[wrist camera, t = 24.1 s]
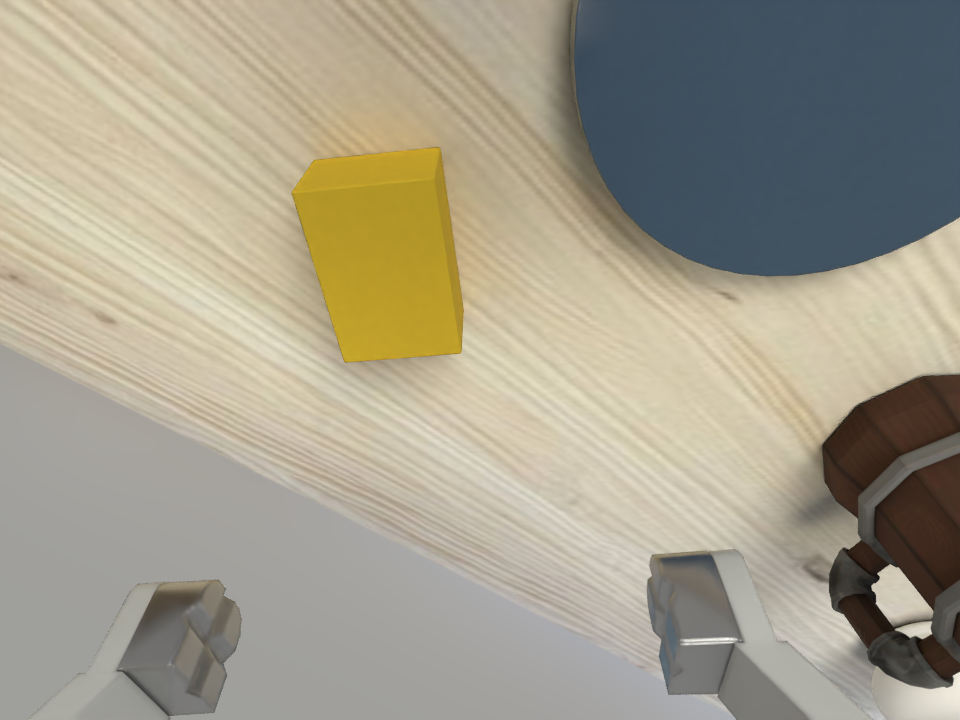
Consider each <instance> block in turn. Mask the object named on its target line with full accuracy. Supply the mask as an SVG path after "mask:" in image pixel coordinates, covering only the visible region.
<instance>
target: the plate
mask: <svg viewBox="0 0 960 720" xmlns="http://www.w3.org/2000/svg"><path fill="white" fill-rule="evenodd" d="M570 63H571V77H572V89H573V94H574V99H575V104H576V109H577V114H578V120H579V123H580V126H581V129H582V132H583V135H584V138H585V141H586V144H587V147H588V149H589V152H590V154H591V157H592V159H593V161H594V163H595V165H596V167H597V169H598V171H599V173H600V175H601V177H602V179H603V181H604V183H605V185H606V187H607V188H608V190H609V191H610V192H611V194H612V195H613V197H614V198H615V199H616V201H617V202H618V204H619V205H620V206H621V208H622V209H623V211H624V212H625V213H626V214H627V215H628V216H629V217H630V218H631V219H632V220H633V221H634V222H635V223H636V224H637V225H638V226H639V227H640V228H641V229H642V230H643V231H644V232H646V233H647V234H648V235H650V236H651V237H652V238H654V239H655V240H656V241H658V242H659V243H660V244H662V245H663V246H664V247H666V248H668V249H670V250H672V251H674V252H675V253H677V254H679V255H681V256H683V257H685V258H687V259H689V260H692V261H695V262H697V263H700V264H703V265H706V266H708V267H711V268H715V269H719V270H724V271H728V272H733V273H738V274H746V275H758V276H794V275H803V274H810V273H818V272H825V271H830V270H834V269H838V268H842V267H846V266H850V265H854V264H858V263H861V262H864V261H867V260H870V259H873V258H876V257H879V256H882V255H884V254H887V253H890V252H892V251H895V250H897V249H899V248H901V247H904V246H906V245H908V244H910V243H913V242H915V241H917V240H919V239H922V238H924V237H925V236H927V235H929V234H931V233H933V232H934V231H936V230H938V229H940V228H942V227H944V226H945V225H947V224H949V223H951V222H953V221H954V220H956V219H958V218H959V217H960V0H573V6H572V15H571V35H570Z"/></svg>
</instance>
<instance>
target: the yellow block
mask: <svg viewBox="0 0 960 720" xmlns="http://www.w3.org/2000/svg"><path fill="white" fill-rule="evenodd" d="M292 196H293V199H294V202H295V206H296V209H297V212H298V215H299V218H300V222H301V225H302V228H303V231H304V234H305V238H306V241H307V244H308V247H309V250H310V254H311V257H312V260H313V263H314V266H315V270H316V273H317V276H318V279H319V282H320V286H321V289H322V292H323V295H324V298H325V302H326V305H327V308H328V311H329V315H330V318H331V321H332V324H333V327H334V331H335V334H336V337H337V340H338V343H339V347H340V350H341V353H342V356H343V359H344V362H346V363H347V362H359V361H372V360H385V359H397V358H410V357H422V356H435V355H447V354H460V353H461V351H462V332H463V313H464V309H463V302H462V295H461V288H460V281H459V274H458V267H457V260H456V253H455V246H454V239H453V233H452V226H451V219H450V212H449V205H448V198H447V191H446V184H445V177H444V170H443V163H442V156H441V149H440V148H439V147H435V148H426V149H416V150H407V151H397V152H387V153H378V154H368V155H359V156H349V157H339V158H330V159H320V160H314V161H313V162H312V164H311V165H310V167H309V168H308V169H307V171H306V172H305V174H304V175H303V177H302V178H301V179H300V181H299V182H298V184H297V185H296V187H295V188H294V190H293V191H292Z"/></svg>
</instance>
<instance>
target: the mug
mask: <svg viewBox="0 0 960 720" xmlns="http://www.w3.org/2000/svg"><path fill="white" fill-rule="evenodd" d="M823 458H824V477H825V483H826V485H827V486H828V488H829V490H830V491H831V493H832V495H833V497H834V498H835V500H836V501H837V502H838V503H839V504H840V505H842V506H843V507H844V508H845V509H847V510H848V511H849V512H851V513H852V514H853V515H854V516H856V517H857V518H858V535H859V536H860V538H861V539H862V540H861V541H860V542H859V543H857V544H856V545H855V546H853V547H852V548H851V549H849V550H848V549H846V548H842V549H841V550H840V551H839V554H838V555H837V557H836V559H835V561H834V563H833V566H832V569H831V571H830V574H829V593H830V597H831V602H832V608H833V610H835V611H837V612H839V613H842V614H844V615H845V617H846V618H847V620H848V621H849V623H850V624H851V626H852V627H853V628H854V630H855V631H856V633H857V634H858V636H859V637H860V639H861V640H862V641H863V643H864V644H865V646H866V647H867V649H868V650H867V654H868V659H869V661H870V662H871V663H872V664H873V665H875V666H878V667H879V668H880V669H881V670H882V671H883V672H884V673H885V674H886V675H888V676H890V677H893V678H895V679H897V680H899V681H901V682H903V683H905V684H908V685H910V686H915V687H921V688H926V689H935V688H940V687H946V688H949V687H951V686H953V681H954V678H953V675H955V674H957V673H959V672H960V375H948V376H923V377H921V378H919V379H917V380H914V381H912V382H910V383H908V384H905V385H903V386H901V387H899V388H897V389H894V390H892V391H890V392H888V393H886V394H883V395H881V396H879V397H877V398H874V399H872V400H870V401H868V402H866V403H863V404H861V405H859V406H858V407H857V408H856V409H855V411H854V412H853V413H852V414H851V415H850V416H849V417H848V419H847V420H846V421H845V422H844V423H843V424H842V425H841V426H840V428H839V429H838V430H837V431H836V432H835V433H834V434H833V435H832V437H831V438H830V439H829V440H828V441H827V442H826V443H825V445H824V446H823ZM889 564H891V565H893V566H895V567H899V568H900V569H901V571H902V572H903V573H904V574H905V576H906V577H907V578H908V579H909V581H910V582H911V583H912V584H913V586H914V587H915V588H916V589H917V591H918V592H919V593H920V594H921V596H922V597H923V598H924V600H925V601H926V602H927V603H928V605H929V606H930V607H931V608H932V610H933V611H934V613H933V620H932V624H931V632H932V634H931V635H929V636H927V637H926V638H924V639H921V638H919V637H917V636H914V637H911V638H909V637H908V636H907V635H906V634H904V633H902V632H899V631H896V630H895V629H894V628H893V626H892V625H891V624H890V622H889V621H888V620H887V618H886V617H885V616H884V614H883V613H882V612H881V610H880V609H879V608H878V606H877V605H876V604H875V603H876V595H875V593H874V592H873V591H872V588H871V586H872V584H873V583H876V582H877V581H878V580H879V578H880V577H879V576H878V574H877V573H878V572H879V571H881V570H882V569H884V568H885V567H886V566H888V565H889Z"/></svg>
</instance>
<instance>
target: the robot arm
mask: <svg viewBox="0 0 960 720" xmlns="http://www.w3.org/2000/svg"><path fill="white" fill-rule="evenodd" d="M649 566H650V570H651V574H652V576H651V577H650V578H649V579H648V582H647V599H648V608H649V614H650V619H651V624H652V628H653V631H654V632H655V633H656V634H657V635H658V636H659V637H660V638H661V639H662V640H661V646H660V653H659V658H660V662H661V666H662V670H663V674H664V678H665V682H666V686H667V690H668V694H669V695H676V694H677V695H681V694H718V698H719V699H720V700H721V701H722V703H723V704H724V705H725V706H726V707H727V709H728V710H729V711H730V712H731V713H732V715H733V716H734V717H735V718H736V720H874V719H873V718H871V717H870V716H869V715H868V714H867V713H866V712H865V711H864V710H863V709H862V708H860V707H859V706H858V705H857V704H856V703H855V702H854V701H853V700H852V699H850V698H849V697H848V696H847V695H846V694H845V693H844V692H843V691H842V690H840V689H839V688H838V687H837V686H836V685H835V684H834V683H833V682H832V681H830V680H829V679H828V678H827V677H826V676H825V675H824V674H823V673H822V672H820V671H819V670H818V669H817V668H816V667H815V666H814V665H813V664H812V663H811V662H809V661H808V660H807V659H806V658H805V657H804V656H803V655H802V654H801V653H799V652H798V651H797V650H796V649H795V648H794V647H793V646H792V645H791V644H789V643H788V642H787V641H777V638H776V636H775V633H774V631H773V628H772V626H771V624H770V621H769V619H768V616H767V614H766V611H765V609H764V606H763V604H762V602H761V599H760V597H759V594H758V592H757V589H756V587H755V585H754V582H753V580H752V577H751V575H750V572H749V570H748V567H747V565H746V563H745V560H744V558H743V556H742V555H741V554H740V552H739V551H737V550H735V549H733V550H717V551H695V552H681V553H668V554H655V555H652V556H651V558H650V565H649ZM225 590H226V588H225V587H224V586H223V584H222V583H221V582H220V581H219V580H202V581H185V582H159V583H143V584H138V585H137V586H135V587H134V588H133V589H132V590H131V591H130V592H129V594H128V596H127V597H126V599H125V601H124V603H123V605H122V607H121V609H120V611H119V613H118V615H117V616H116V618H115V620H114V622H113V624H112V626H111V628H110V630H109V631H108V633H107V635H106V637H105V639H104V641H103V643H102V645H101V646H100V648H99V650H98V652H97V654H96V656H95V658H94V660H93V662H92V663H91V665H90V667H89V669H88V671H87V673H79V674H78V675H77V676H75V677H74V678H73V679H72V680H71V681H70V682H69V683H67V684H66V685H65V686H64V687H63V688H62V689H61V690H60V691H59V692H57V693H56V694H55V695H54V696H53V697H52V698H51V699H49V700H48V701H47V702H46V703H45V704H44V705H43V706H42V707H41V708H40V709H38V710H37V711H36V712H35V713H34V714H33V715H31V716H30V717H29V718H28V719H27V720H170V717H169V716H175V715H189V714H204V713H214V712H215V708H216V706H217V703H218V700H219V697H220V694H221V691H222V689H223V686H224V683H225V680H226V677H227V673H226V670H225V667H224V664H223V663H224V662H225V661H226V660H227V659H228V658H229V657H230V656H231V655H232V654H233V652H235V650H236V647H237V644H238V641H239V638H240V632H241V614H240V610H239V608H238V606H237V605H236V603H235V602H234V601H232V600H230V599H228V598H226V597H224V593H225Z"/></svg>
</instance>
